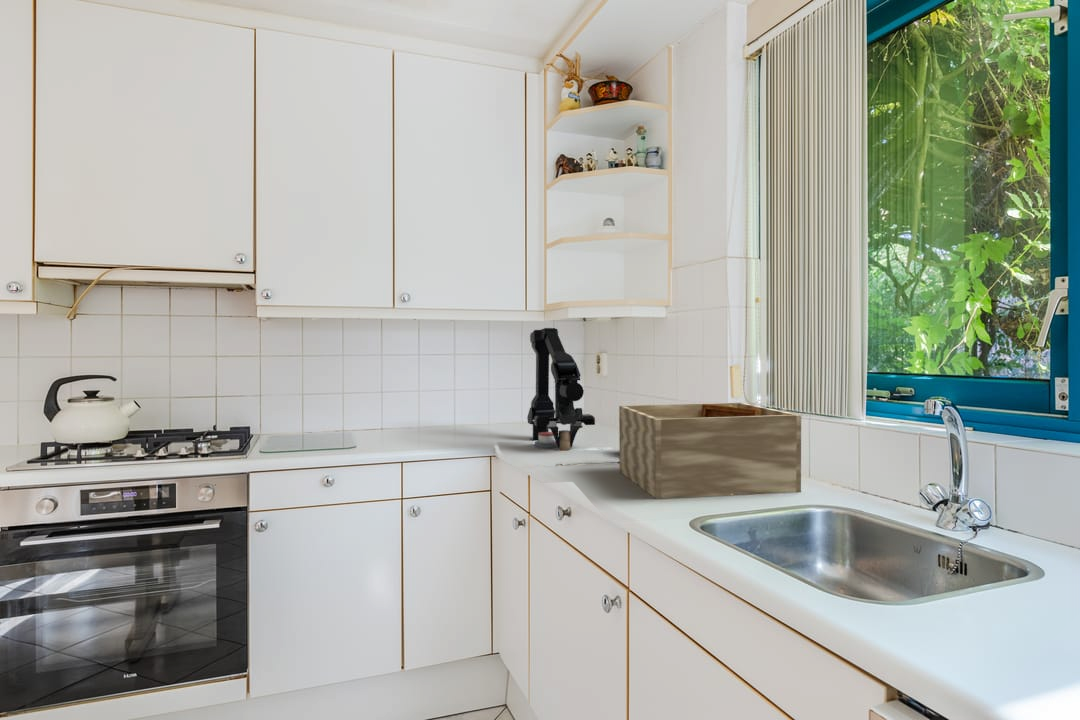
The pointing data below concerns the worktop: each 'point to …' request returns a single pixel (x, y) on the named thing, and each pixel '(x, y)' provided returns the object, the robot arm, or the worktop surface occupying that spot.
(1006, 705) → the worktop surface
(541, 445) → the board
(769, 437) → the crate
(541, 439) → the dome
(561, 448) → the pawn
